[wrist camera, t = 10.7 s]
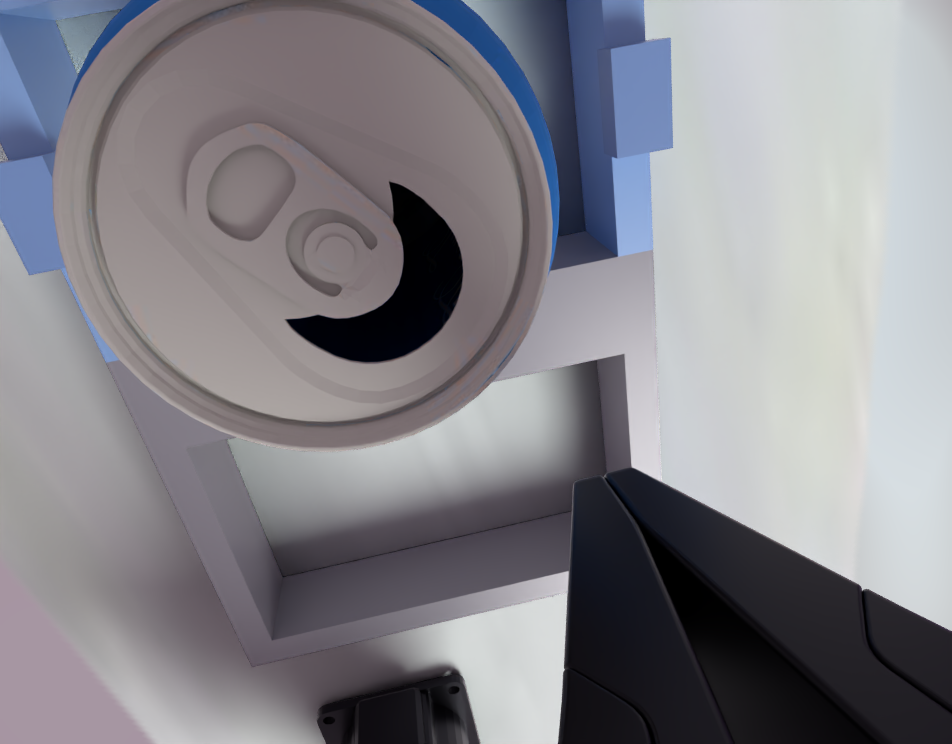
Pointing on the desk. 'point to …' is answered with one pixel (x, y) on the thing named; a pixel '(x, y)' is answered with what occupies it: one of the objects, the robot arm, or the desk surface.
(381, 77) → the beverage can
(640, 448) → the slot holder
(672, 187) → the desk surface
